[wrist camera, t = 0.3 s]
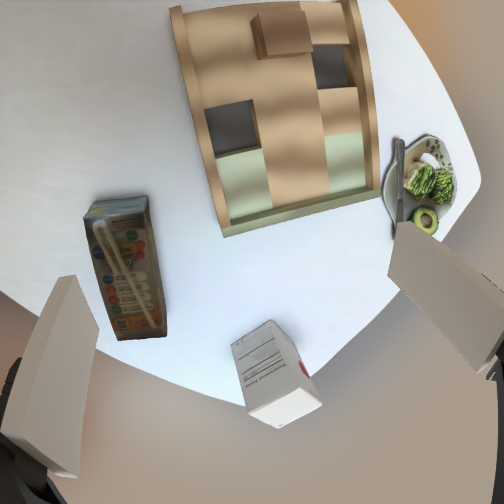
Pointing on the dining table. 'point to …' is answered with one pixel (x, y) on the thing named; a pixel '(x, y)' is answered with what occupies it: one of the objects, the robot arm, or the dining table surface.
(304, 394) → the supplement box
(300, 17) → the block
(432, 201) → the salad plate
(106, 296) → the beverage carton
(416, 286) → the robot arm
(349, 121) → the box
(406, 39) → the dining table surface
